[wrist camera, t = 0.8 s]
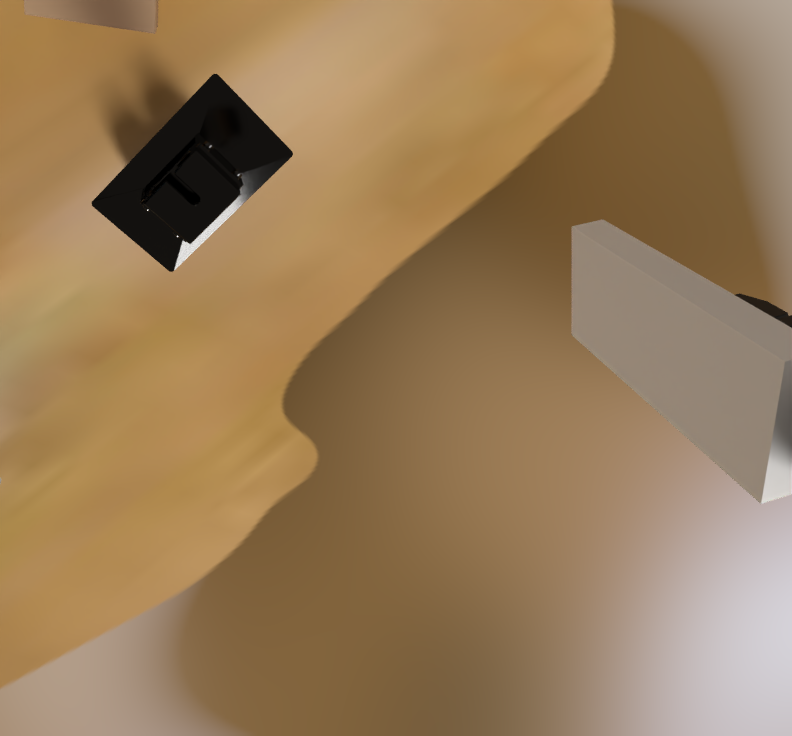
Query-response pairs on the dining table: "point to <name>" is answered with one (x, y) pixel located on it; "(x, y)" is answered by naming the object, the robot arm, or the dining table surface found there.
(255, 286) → the dining table surface
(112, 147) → the dining table surface
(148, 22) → the walnut cube
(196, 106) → the black bracket plate
